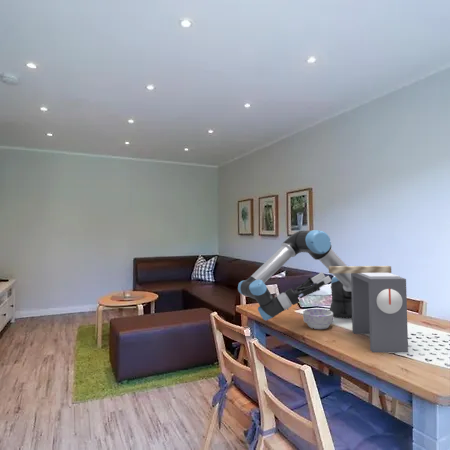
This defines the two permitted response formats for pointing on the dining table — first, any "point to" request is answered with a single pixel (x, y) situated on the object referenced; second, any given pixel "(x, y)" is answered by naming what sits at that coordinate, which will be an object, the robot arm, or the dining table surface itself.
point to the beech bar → (359, 269)
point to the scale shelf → (380, 310)
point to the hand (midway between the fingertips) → (326, 276)
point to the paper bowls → (318, 318)
